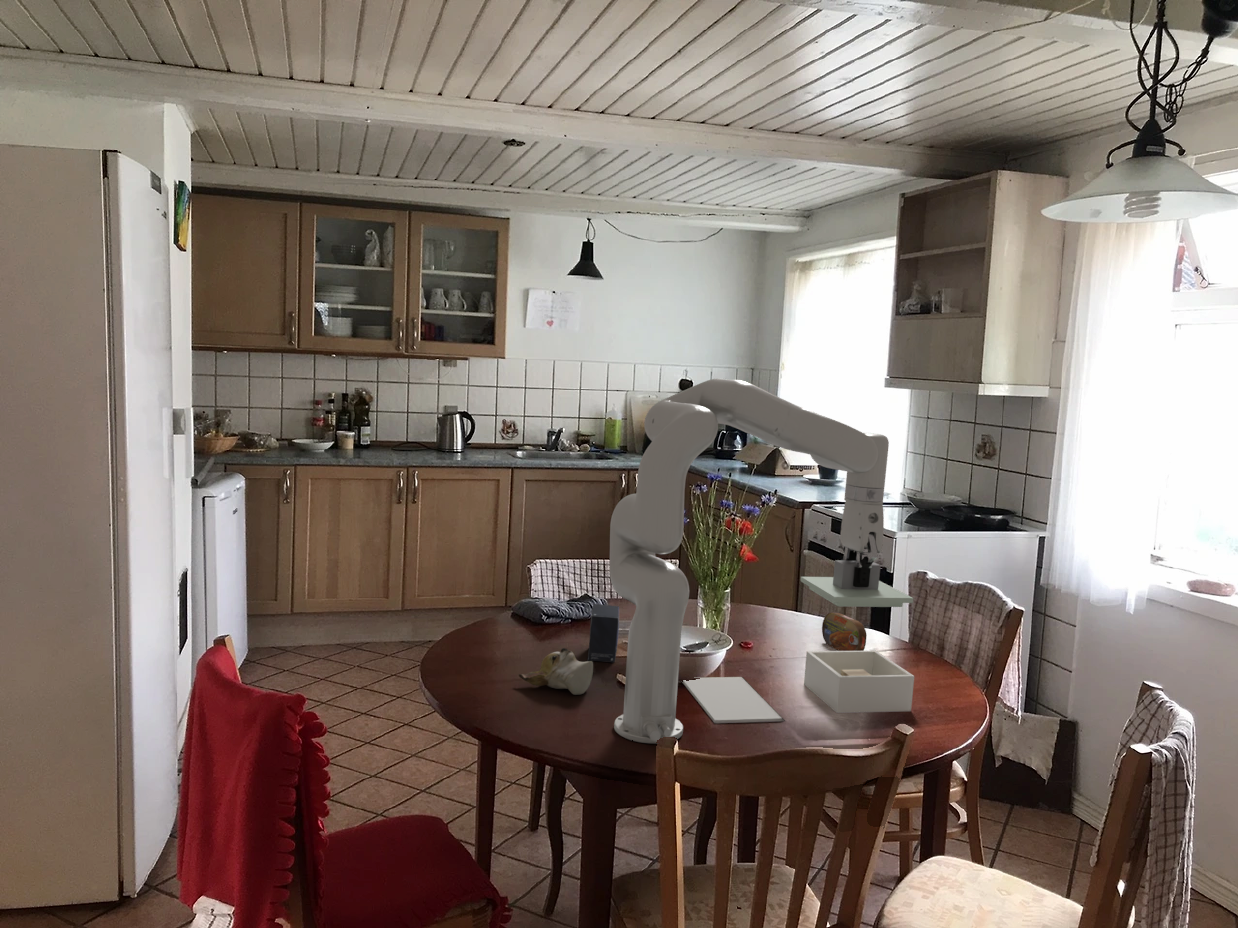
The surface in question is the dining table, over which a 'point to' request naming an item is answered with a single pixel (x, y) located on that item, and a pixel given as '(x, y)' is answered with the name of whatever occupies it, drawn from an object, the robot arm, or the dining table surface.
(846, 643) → the tin
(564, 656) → the ceramic sculpture
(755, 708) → the mat
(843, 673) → the ash block
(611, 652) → the small box
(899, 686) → the storage box
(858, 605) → the lid
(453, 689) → the dining table surface
